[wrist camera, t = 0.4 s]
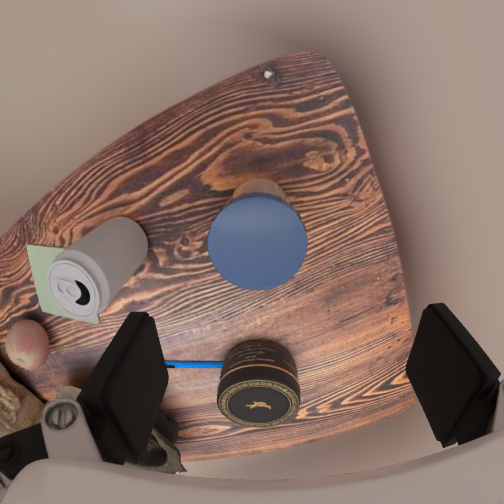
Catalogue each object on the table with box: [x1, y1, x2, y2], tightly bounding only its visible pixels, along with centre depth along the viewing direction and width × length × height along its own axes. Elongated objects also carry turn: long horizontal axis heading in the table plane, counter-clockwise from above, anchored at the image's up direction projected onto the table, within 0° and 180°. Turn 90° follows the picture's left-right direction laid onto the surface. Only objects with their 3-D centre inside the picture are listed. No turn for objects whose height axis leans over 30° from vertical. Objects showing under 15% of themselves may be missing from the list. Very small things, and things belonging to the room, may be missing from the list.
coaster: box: [27, 244, 100, 324], centre depth 35 cm, size 11×11×1 cm
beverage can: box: [47, 217, 148, 319], centre depth 27 cm, size 6×6×12 cm
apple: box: [6, 320, 49, 370], centre depth 35 cm, size 8×8×8 cm
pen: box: [165, 361, 224, 368], centre depth 39 cm, size 1×19×1 cm, turn 94°
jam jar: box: [228, 178, 290, 204], centre depth 26 cm, size 6×6×10 cm
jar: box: [217, 340, 300, 427], centre depth 35 cm, size 10×10×8 cm
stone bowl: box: [56, 386, 187, 474], centre depth 41 cm, size 25×25×9 cm
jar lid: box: [208, 191, 308, 290], centre depth 21 cm, size 7×7×2 cm
